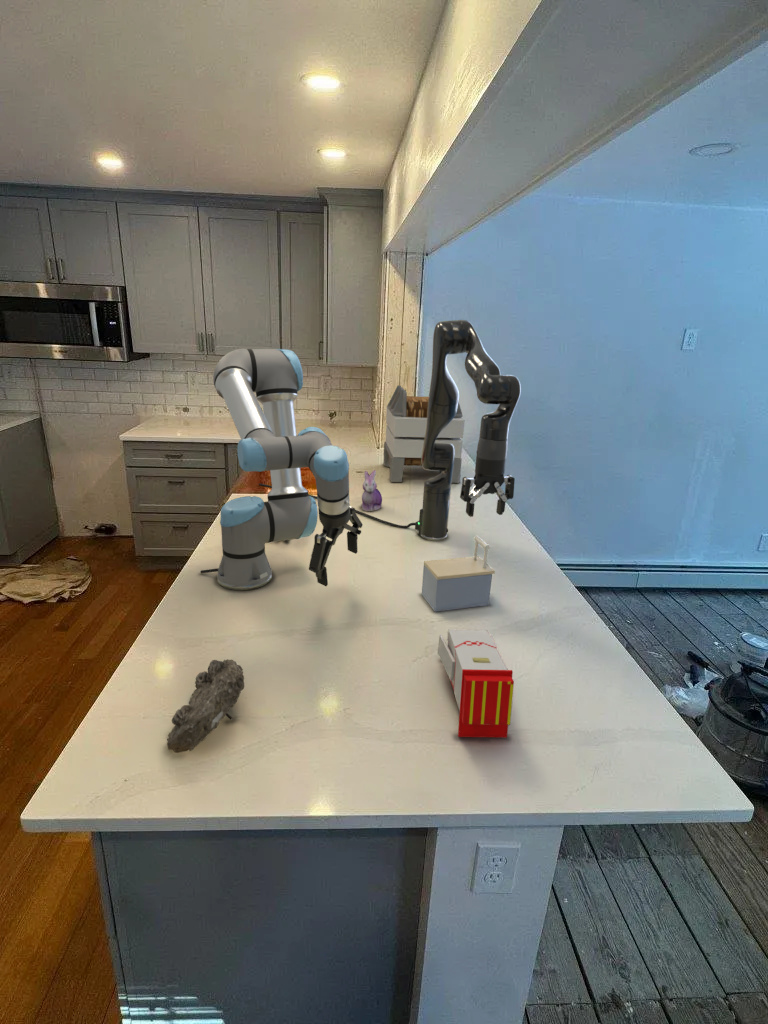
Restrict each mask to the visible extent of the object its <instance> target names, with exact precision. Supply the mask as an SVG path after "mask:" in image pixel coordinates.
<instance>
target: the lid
mask: <svg viewBox="0 0 768 1024" xmlns="http://www.w3.org/2000/svg"><path fill="white" fill-rule="evenodd" d="M473 540H474V550H473V556H466V557H453V558H444V559H431V560H424V561H423V566H424V565H425V566H426V567H427V568H428V569H429V570H430V572H431V573H432V574H433V575H434V576H435V577H436V579H437V580H439V579H449V578H458V577H468V576H478V575H487V574H492V575H495V572H496V571H495V569H494V568H492V567H491V566H490V565H489V564H488V562H487V561H488V554H489V550H490V548H491V546H490V544H488V543H487V542H486V541H485V540H484V539H482V538H481V537H480V536H478V535H475V536H474V537H473ZM479 546H480V547H482V548H483V550H484V552H483V558H481V557H480V556H479V555H478V554H479V553H478V551H479Z"/></svg>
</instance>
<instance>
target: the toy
mask: <svg viewBox="0 0 768 1024" xmlns="http://www.w3.org/2000/svg"><path fill="white" fill-rule="evenodd" d="M446 640H447V643H446V641H445V639H444V636H443V635H442V634H439V637H438V646H437V656H438V657H439V659H440V661H441V663H442V666H443V668H444V670H445V672H446V674H447V677H448V679H449V681H450V684H451V687H452V690H453V693H454V697H455V701H456V705H457V708H458V711H459V714H458V715H459V716H458V730H457V731H458V732H457V737H458V738H508V731H509V726H510V725H511V717H512V707H513V697H514V696H513V695H514V684H515V680H514V679H513V673H514V671H513V670H512V669H508V667H507V665H506V662H505V661H504V659H503V658H502V655H501V653H500V651H499V649H498V647H497V643H496V639H495V637H494V635H493V634H491V632H490V631H489V629H467V628H466V629H465V628H463V629H461V628H460V629H459V628H448V630H447V639H446Z"/></svg>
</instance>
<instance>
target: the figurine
mask: <svg viewBox="0 0 768 1024" xmlns="http://www.w3.org/2000/svg"><path fill="white" fill-rule="evenodd" d="M363 474H364V475H363V476H364V481H363V483H362V490H363V492H362V495H361V502H362V503H361V506H360V507H361V509H362V511H365V512H366V511H367V512H372V511H378V510H380V509H381V508H382V503H383V496H382V493H381V491H380V490H379V489H378V488H377V487H378V485H377V482H376V479H375V478H376V474H377V470H375V469H374V470H372V472H371V473H370V474H369V472H368V471H367V470H365V471H364V473H363Z"/></svg>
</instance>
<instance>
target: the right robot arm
mask: <svg viewBox="0 0 768 1024" xmlns="http://www.w3.org/2000/svg"><path fill="white" fill-rule="evenodd" d="M464 353H465V354H466V356H465V359H464V360H465V361H464V369H465V371H466V373H467V375H468V377H470V379H471V380H472V382H473V384H474V388H475V391H476V396H477V399H478V400H479V401H480V402H481V403H483V404H485V405H498V406H497V408H496V409H495V410H494V411H492V412H488V413H485V414H483V415H482V416H481V418H480V427H479V438H478V441H477V445H476V456H475V465H474V467H475V468H474V477H467V476H464V477H462V482H461V487H460V495H459V498H460V499H461V500H462V501H463V502H466V506H465V514H467V516H468V517H469V518H473V517H474V514H475V505H476V503H475V502H476V501H477V500H478V499H479V498H480V497H481V496H482V495H489V494H491V495H494V494H495V495H496V496H497V497H498V499H497V502H496V509H495V510H496V512H495V513H496V514H497V515H499V516H503V513H504V512H505V510H506V502H507V501H508V500H512V499H514V495H515V477H514V476H512V475H510V474H507V475H506V476H504V475H505V472H506V463H507V454H508V441H509V440H508V438H509V429H510V424H511V421H512V417H513V415H514V412H515V409H516V407H517V405H518V402H519V400H520V397H521V393H522V388H521V387H522V385H521V382H520V380H519V378H518V377H517V376H515V375H513V374H501V370H500V367H499V366H498V364H497V363H496V362H495V360H493V359H492V357H491V356H490V355H489V354H488V353H487V351H486V349H485V348H484V346H483V343H482V341H481V339H480V337H479V335H478V332H477V330H476V329H475V327H474V325H473V324H472V323H471V322H470V321H469V320H467V319H453V320H441V321H437V323H436V324H435V327H434V330H433V336H432V360H431V361H432V362H431V363H432V365H431V378H430V385H429V392H428V397H429V399H428V411H427V424H426V432H425V438H424V443H423V449H422V456H421V463H422V466H421V467H422V468H423V470H426V471H435V472H436V471H437V472H439V474H437V475H435V476H432V477H429V478H427V479H425V480H424V482H423V493H422V496H423V497H422V506H421V508H420V509H419V516H418V520H417V521H415V522H411V523H408V524H406V525H402V524H401V525H400V524H396V523H394V522H391V521H387V520H383V519H381V518H378V517H376V516H373V515H370V514H369V513H365V512H363V511H360V510H358V509H355V513H356V514H359V515H362V516H364V517H366V518H369V519H372V520H374V521H377V522H379V523H382V524H385V525H388V526H392V527H395V528H400V529H409V528H410V527H412V526H414V530H415V531H417V535H418V536H420V538H421V539H424V540H426V541H432V542H440V541H444V540H446V539H447V538H448V533H449V528H448V525H449V517H450V516H449V514H450V504H451V494H452V493H451V491H452V483H451V481H452V472H453V465H454V458H455V449H454V446H453V445H452V444H448V443H435V440H436V438H437V437H438V435H439V434H440V432H441V431H442V430H443V429H444V428H445V427H446V426H447V425H448V424H449V423H450V422H451V421H452V419H453V418H454V417H455V415H456V413H457V407H458V402H459V399H460V391H459V388H458V386H457V384H456V382H455V381H454V379H453V377H452V376H451V374H450V372H449V369H448V367H447V357H448V355H461V354H464ZM440 471H442V472H440ZM473 484H474V486H473ZM503 484H505V485H504V486H505V487H504V490H503V489H502V485H503ZM258 486H260V487H264V488H269V489H272V485H270V484H265V483H258ZM472 486H473V487H472ZM471 487H472V489H471ZM308 495H309V496H311V497H313V498H314V499H315V500H317V495H312V494H309V493H308Z"/></svg>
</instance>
